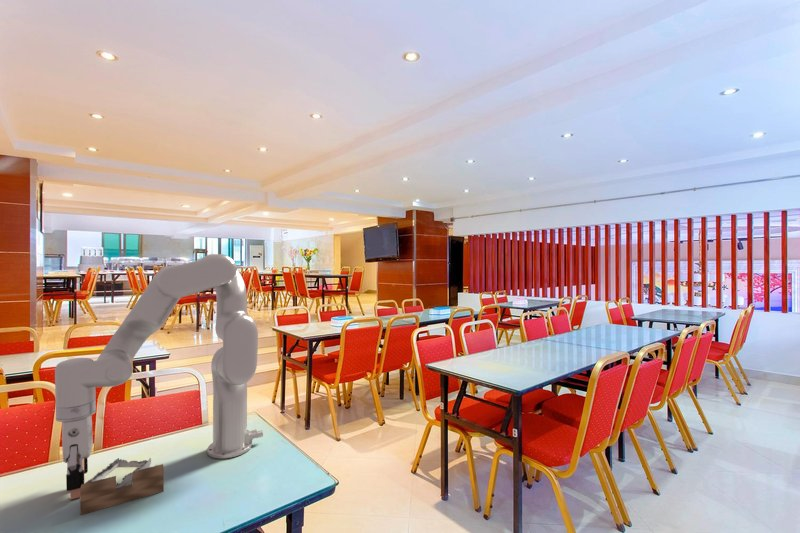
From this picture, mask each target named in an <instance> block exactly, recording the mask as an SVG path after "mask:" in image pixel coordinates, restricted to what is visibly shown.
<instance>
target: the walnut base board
mask: <svg viewBox="0 0 800 533" xmlns="http://www.w3.org/2000/svg"><path fill="white" fill-rule="evenodd" d="M164 468H165V467H164V463H162V464H158V465H154V466H150V467H149V468H145V469H141V470H137V471H134V470H133V471H132V472H131V473H132V480H131V481H132V482H131V483H130V484H126V485H124V486H122V487H119V488H116V484H117V475H113V476H110V477H105V478H103V479H101V480H97V481H93V482H89V483H86V482H85V484H81V488H80V497H79V498H80V503H79V504H80V510H79V512H80V513H79V514H80V516H82V515H84V514H90V513H93V512H96V511H99V510H103V509H107V508H110V507H113V506H117V505H120V504H124V503H127V502H131V501H134V500H139V499H141V498H145V497H149V496H152V495H155V494H159V493H162V492H164V480H165V479H164V474H165V472H164Z"/></svg>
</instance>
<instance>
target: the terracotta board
mask: <svg viewBox="0 0 800 533" xmlns="http://www.w3.org/2000/svg"><path fill="white" fill-rule="evenodd" d="M78 458H80V456H77V459H78ZM77 464H79V461H77ZM82 470H84V458H83V469H82ZM85 483H86V481H85V479H84V484H85ZM69 492H70V499H69V500H74V499H78V498H80V488H78V489H75V490H71V491H69Z"/></svg>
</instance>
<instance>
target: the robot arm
mask: <svg viewBox="0 0 800 533" xmlns="http://www.w3.org/2000/svg"><path fill="white" fill-rule="evenodd" d="M213 288H214V290H215V296H216V315H215V316H216V317H215V318H216V319H215V333H216V335H217V336H218V338H219V339H221V341H222V346H221V347H219V348H218V349H217V350H216V352H214V354H213V356H212V359H211V365H210V366H211V377H212V397H213V399H212V442H211V443H210V444H209V445H208V446H207V449H206V451H207V452H206V453H207V455H208V457H210V458H213V459H219V460H221V459H222V460H223V459H230V458H231V459H232V458H235V457H238V456H241V455H243V454H245V453H246V452H248V451H249V450H250V449H251V448H252V446H253V440H254V439H258V438H263V437H264V432H263V430H257V429H252V430H248V382H249V381H251V379H252V378H253V377H254V375H255V373H256V371H257V365H258V345H259V344H258V343H259V331H258V330H259V329H258V327H257V324H256V321H255V320H254V319H253V318H252V317H251V315H248V301H247V300H248V299H247V296H248V295H247V288H246V284H245V281H244V278H243V277H242V274H241V273H240V272H239V270H238V266H237V264H236V261H235V260H234V259H233V258H232V257H231V256H229V255H227V254H223V253H222V254H220V253H216V254H215V253H211V254H207V255H204V256H203V257H201V258H200V259H198V260H194V261H192V262H187V263H182V264H179V265H166V266H164V267H161V268H160V269H159V270H158V271H157V272H156V274H155V275H154V277H152V279H151V280H150V281H149V283H148V284H147V286H146V288H145V289H144V291H143V292H142V294H141V296H139V299H137V301H136V302H135V304H134V306H133V307H132V308H131V309H130V312H129V313H128V315H126V317H125V318H124V320H123V321H122V323H121V324H120V325H119V327H118V328H117V329H116V331H115V332H114V334H112V337H111V338H110V340H108V343H107V344H106V345H105V347H104V349H103V350H102V351H101V352H100V355H99V356H98V357H97V359H96V360H94V359H92V358H90V357H76V358H71V359H65V360H63V361H60V362H59V363H58V364H56V366H55V369H54V387H55V389H54V390H55V394H54V395H55V421H56V422H59V423H61V434H62V435H61V442H62V443H61V446H62V447H61V449H62V461H63V463H64V464H67V467H66V475H65V477H66V478H65V479H66V491H67V492H70V491H71V490H75V489H78V488H81V484H84V480H85V474H87V473H88V471H89V470H88V469H89V467H88V458H90V457H91V453H92V450H93V446H94V437H93V435H94V434H93V419H92V416H93V415H94V414H95V413H96V412H97V404H96V403H97V402H96V400H97V399H96V393H97V392H96V388H109V387H110V388H111V387H117V386H120V385H123V384H125V383H127V382H128V380H129V379H130V378H131V377H132V376H133V371H134V367H133V363H132V361H133V360H134V358H135V357H136V355H137V353H138V351H139V350H140V349H141V347H142V346H143V344H144V343H145V342H146V340H148V339H149V337H150V336H152V335H153V334H155V333H156V332H157V331H159V330H160V329H161V328H162V327H163V326H164V324H165V323H166V321H167V320H168V318H169V317H170V315H171V313H172V312H173V310H174V308H175V307H176V305H177V303H178V302H179V301H180V299H181V298H184V297H188V296H191V295H195V294H198V293H201V292H204V291H207V290H210V289H213ZM77 456H80V458H78V459H77ZM83 458H84V470H82V469H83ZM77 461H79V464H77Z"/></svg>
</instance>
